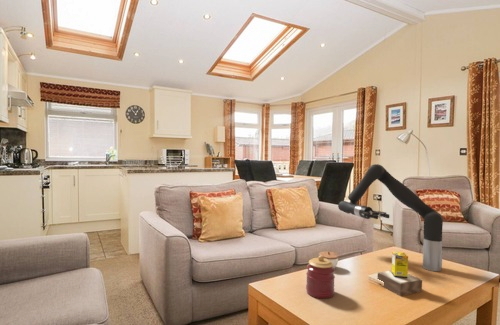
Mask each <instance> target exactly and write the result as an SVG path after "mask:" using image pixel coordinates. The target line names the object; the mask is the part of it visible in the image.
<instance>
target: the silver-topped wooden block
mask: <svg viewBox="0 0 500 325" xmlns="http://www.w3.org/2000/svg"><path fill="white" fill-rule="evenodd" d="M377 279H379V280H381V281H383V282H384V286H382V287H383V288H384V289H387V290H388V291H390V292H392V293H394V294H396V296H400V297H402V296H406V295H407V296H408V295H413V294H418V293H421V292H422V293H423V280H422V278H419V277H416V276H414V275H412V274H409V273H408V274H407V278H399V277H394V275H393V274H392V273H391V270H385V271H379V272H378V273H377Z"/></svg>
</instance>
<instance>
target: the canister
mask: <svg viewBox="0 0 500 325" xmlns="http://www.w3.org/2000/svg"><path fill="white" fill-rule="evenodd" d="M335 268H336V267H335ZM335 268H334V267H333V263H332V262H331V261H330V260H328V259H326V258H324V257H323V256H321V255H320V256H319V255H318V257H314V258H311V259H310V260H308V264H307V265H306V269H307V271H306V285H305V289H306V293H307V294H308V295H309V296H311V297H313V298H316V299H324V300H325V299H330V298H332V297H333V296H334V295H335V278H336V276H335V274H334V273H335V271H336V269H335Z"/></svg>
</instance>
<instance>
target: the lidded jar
mask: <svg viewBox="0 0 500 325" xmlns="http://www.w3.org/2000/svg"><path fill="white" fill-rule="evenodd" d="M320 255H321V256H323V257H324V258H326V259H328V260H330V261H331V262H332V263H333V267H334V268H336V267H337V265H338V262H339V255H338V254H337V253H336V252H332V251H320V252H319V254H318V257H319V256H320Z"/></svg>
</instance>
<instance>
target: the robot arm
mask: <svg viewBox="0 0 500 325" xmlns="http://www.w3.org/2000/svg"><path fill="white" fill-rule="evenodd" d="M376 180H378V181H379V182H380V183H382V184H383V185H384V186H385V187H386V188H387V189H388V191H389V192H390V193H391V194H392V195H393V197H394V198H396V199H397V200H398V201H399V202H400V203H401V204H403V205H404V206H406V207H408V208H410V209H411V210H413V211H414V212H416V213H417V214H418V215H419V217H421V218H422V219H423V242H422V244H423V247H422V268H423V269H425V270H427V271H431V272H441V270H443V253H442V252H443V251H442V250H443V249H442V248H443V225H444V224H443V223H444V217H443V216H442V214H441V213H440V212H438V211H437V210H435V209H433V208H432V207H430V206H429V205H428V204H426V203H425V201H423V200H422V199H421V198H420V197H419V196H418V195H417V194H416V193H414V192H413V191H412V190H411V189H410V188H409V187H408V186H406V185H405V184H404V183H402V182H401V181H400V180H398V179H397V178H395V177H394V176H392V174H391V173H389V171H388V170H387V169H386V168H385V167H384V166H382V165H381V164H379V163H378V164H375V163H374V164H372V165H370V166H369V167H368V169H367V170H366V172H365V174H364V176H363V177H362V178H361V180H360V181H359V182H358V184H357V185H356V186H355V188H353V190H352V191H351V192H350V193H349V195H348V196H347V199H348V200H349V201H346V200H341V201H339V203H338V204H337V208H338V209H339V211H341V212H343V213H346V214H349V215H350V214H351V215H354V216H356V217H359V218H363V219H366V220H370V219H375V220H378V219H379V218H386V219H390V214H388V213H387V212H385V211H382V210H381V211H380V210H374V209H373V208H372V207H370V206H367V205H362V204H358V202H360V200H361V199H362V198H363V197H364V195H365V194H366V192H367V191H368V189H369V188H370V186H371V185H372V184H373V183H374V182H375V181H376Z"/></svg>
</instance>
